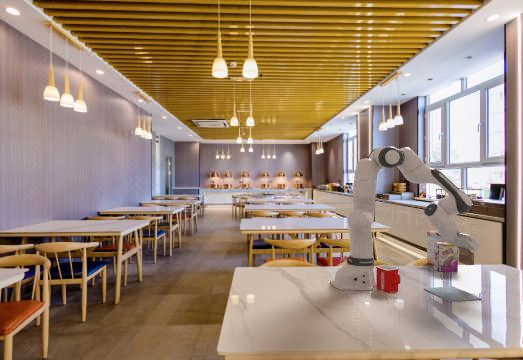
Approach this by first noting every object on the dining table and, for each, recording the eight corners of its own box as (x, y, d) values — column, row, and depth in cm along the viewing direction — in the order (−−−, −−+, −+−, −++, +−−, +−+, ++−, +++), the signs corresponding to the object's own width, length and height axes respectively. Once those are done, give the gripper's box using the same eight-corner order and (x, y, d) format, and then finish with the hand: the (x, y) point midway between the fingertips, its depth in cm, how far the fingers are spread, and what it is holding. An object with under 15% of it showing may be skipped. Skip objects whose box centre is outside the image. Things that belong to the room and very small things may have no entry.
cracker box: (448, 268, 186) (448, 233, 186) (438, 268, 186) (438, 233, 186) (436, 262, 200) (436, 230, 200) (426, 262, 200) (426, 230, 200)
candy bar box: (438, 272, 178) (437, 243, 179) (434, 269, 183) (434, 241, 184) (458, 272, 177) (458, 243, 178) (454, 270, 182) (453, 242, 183)
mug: (374, 287, 152) (374, 266, 152) (387, 285, 155) (387, 264, 155) (392, 296, 141) (392, 272, 141) (406, 293, 144) (406, 270, 144)
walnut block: (466, 265, 151) (467, 246, 151) (458, 262, 156) (459, 244, 156) (474, 264, 152) (474, 246, 151) (466, 262, 156) (466, 244, 156)
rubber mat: (448, 301, 134) (448, 300, 134) (423, 289, 149) (423, 288, 149) (481, 299, 136) (481, 298, 136) (453, 287, 152) (453, 286, 152)
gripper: (471, 230, 142) (490, 250, 144) (439, 223, 162) (455, 241, 164) (463, 240, 142) (481, 260, 143) (431, 232, 162) (448, 250, 163)
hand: (467, 250), depth 154 cm, fingers closed on walnut block, 5 cm apart
